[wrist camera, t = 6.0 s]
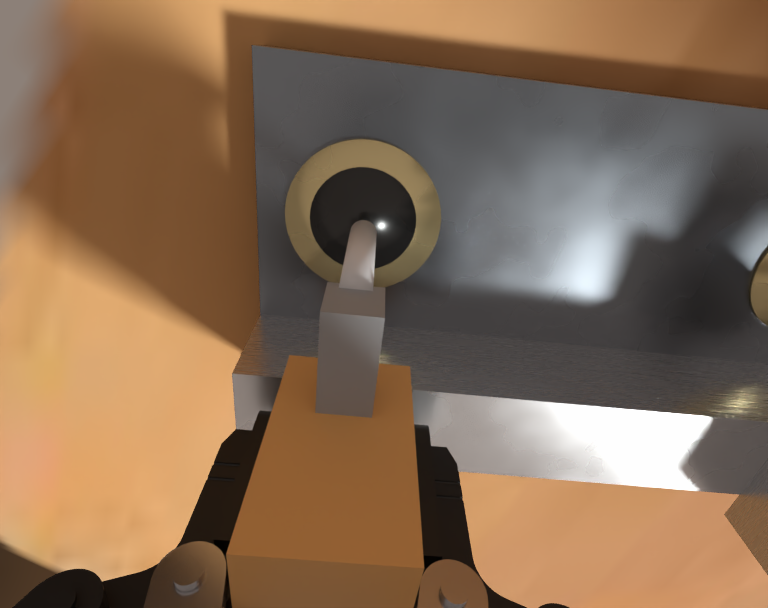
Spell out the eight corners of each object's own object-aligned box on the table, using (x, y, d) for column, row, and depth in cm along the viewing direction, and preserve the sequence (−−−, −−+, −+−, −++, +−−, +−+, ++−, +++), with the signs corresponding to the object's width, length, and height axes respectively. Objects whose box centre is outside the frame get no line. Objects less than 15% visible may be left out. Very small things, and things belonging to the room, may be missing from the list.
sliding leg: (421, 226, 12) (460, 434, 5) (387, 438, 16) (387, 704, 9) (306, 213, 12) (209, 413, 5) (301, 431, 16) (242, 696, 9)
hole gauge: (1052, 144, 13) (1676, 236, 6) (805, 446, 18) (1010, 641, 12) (261, 45, 11) (120, 43, 5) (269, 399, 17) (206, 587, 11)
